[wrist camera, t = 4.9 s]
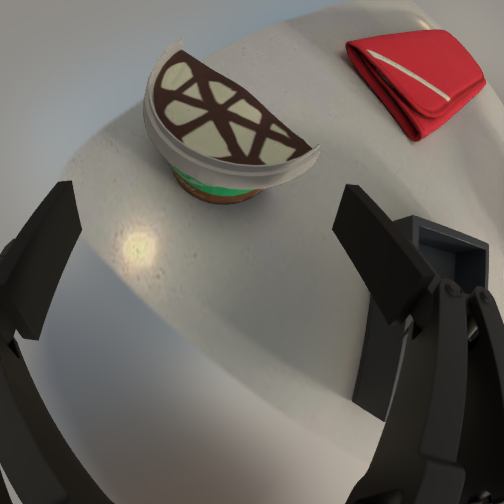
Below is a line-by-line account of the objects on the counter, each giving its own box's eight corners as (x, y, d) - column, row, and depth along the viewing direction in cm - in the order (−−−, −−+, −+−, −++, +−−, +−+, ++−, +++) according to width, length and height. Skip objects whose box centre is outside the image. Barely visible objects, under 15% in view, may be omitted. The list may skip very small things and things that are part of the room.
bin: (351, 401, 24) (383, 422, 19) (375, 226, 26) (412, 214, 21) (437, 388, 27) (468, 398, 21) (455, 249, 29) (488, 243, 23)
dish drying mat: (483, 87, 38) (493, 81, 34) (414, 148, 29) (433, 137, 25) (439, 33, 38) (448, 25, 34) (334, 52, 28) (346, 35, 25)
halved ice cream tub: (127, 156, 22) (97, 88, 12) (177, 112, 23) (175, 35, 14) (231, 250, 23) (259, 228, 13) (278, 198, 25) (329, 149, 15)
